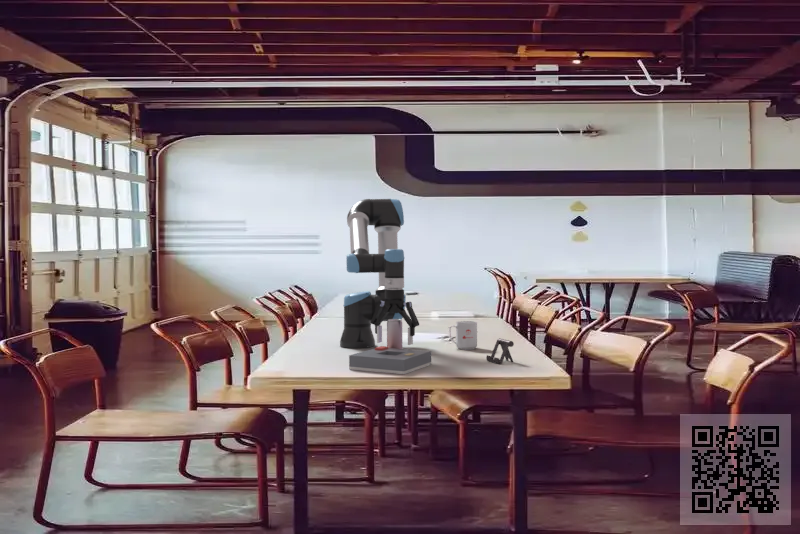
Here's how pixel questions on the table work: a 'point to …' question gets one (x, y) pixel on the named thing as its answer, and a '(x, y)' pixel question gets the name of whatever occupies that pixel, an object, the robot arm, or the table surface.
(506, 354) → the portable electronic device stand
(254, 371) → the table surface
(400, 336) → the beverage can
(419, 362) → the socket
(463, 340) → the mug
